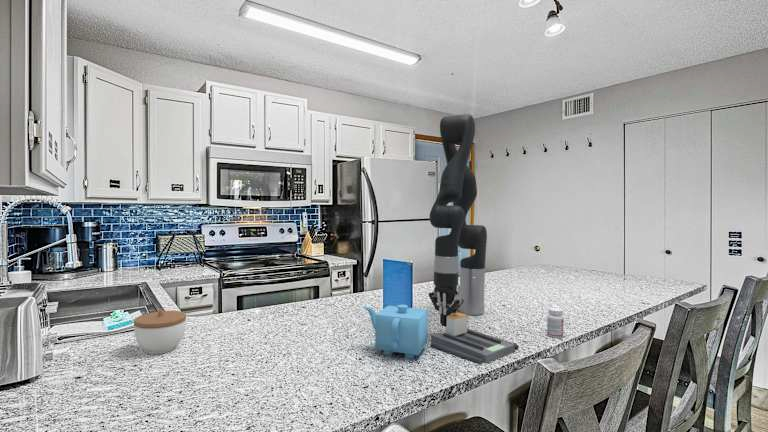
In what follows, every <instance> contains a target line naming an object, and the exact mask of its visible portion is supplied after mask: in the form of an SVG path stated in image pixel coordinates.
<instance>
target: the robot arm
mask: <svg viewBox="0 0 768 432" xmlns="http://www.w3.org/2000/svg"><path fill="white" fill-rule="evenodd" d="M439 122H440V123H439V133H440V138H441V139H440V140H441V144H442V147H443V153H444V156H445V161H446V166H445V167H444V169H443V171H442V174H441V177H440V183H439V184H440V185H439V189H438V194H437V196H436V198H435V201H434V203H433V205H432V207H431V210H430V212H429V223H430V224H431V226H432V227H433V228H435V229H436V228H437V229H451V230H450V232H449V234H445V235H440V236H437V237H436V238H435V241H434V260H433V285H434V289H433V291H430V292H429V293H428V296H429V299H430V301H431V303H432V305H433V308H434V309H435V310H436V311H438V312H439V314H440V315H439V317H440V318H439V322H440V326H441V327H444V328H445V327H446V324H447V316H449V315H453V314H457V311H459V313H463V314H466V315H469V316H478V315H479V316H480V315H484V313H485V287H486V286H485V285H486V282H485V280H486V259H487V258H486V256H487V255H486V254H487V253H486V252H487V242H488V241H487V240H488V233H487V232H488V231H487V228H486V226H484V225H482V224H481V225H479V224H467V222H466V221H467V220H466V219H467V215H468V212H470V209H471V207H472V206H473V204H474V203H475V201H476V198H477V195H478V188H477V180H476V175H475V174H474V172H473V170H472V169H471V168H470V167H469V165H468V161H469V159H470V155H471V151H472V147H473V144H474V139H475V135H476V122H475V118H474V117H473V116H472V114H466V113H465V114H457V115H449V116H448V115H447V116H444V117H442V118H441V119H440V121H439ZM457 144H460V145H459V148H458V149H457V147H456V145H457ZM449 203H452V205H448V204H449ZM459 248H460V249H465V250H475V251H474V254H472V255H470V256H468V257H464V258H461V259H460V260H459ZM459 261H460V262H459Z"/></svg>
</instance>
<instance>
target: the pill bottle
mask: <svg viewBox="0 0 768 432" xmlns="http://www.w3.org/2000/svg"><path fill="white" fill-rule="evenodd" d="M563 313H564V312H563V309H562V308H557V307H550V308H548V314H547V315H546V316H547V317H546V318H547V320H546V321H547V323H546V335H547V336H549V337H551V338H556V339H561V338H563V337H564V323H565V322H564V320H565V318H564V316H563Z"/></svg>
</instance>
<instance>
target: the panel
mask: <svg viewBox="0 0 768 432" xmlns="http://www.w3.org/2000/svg"><path fill="white" fill-rule="evenodd" d="M468 329H469V328H467V332H466V333H463V334H460V335H457V336H452V335H449V334H446V330H443V331H439V332H436V333H433V334H430V342H431V343H432V342H433V343H436V344H439V345H442V346H445V347H448V348H451V349H454V350H457V351H460V352H463V353H466V354H469V355H472V356H475V357H477V358H480V359H482V363H485V364H488V363H490V362H492V361H495V360H497V359H500V358H502V357H505V356H507V355H510V354H512V353H515V345H514V344H515V343H514V344H511V343H512V342H511V343H508V342H509V341H507V342H505V341H506V340H504V341H502V340H503V339H501V340H499V339H500V338H498V339H496V338H497V337H495V338H492V337H493V336H492V337H489V336H490V335H489V336H486V335H487V334H486V335H483V334H484V333H483V334H480V333H481V332H480V333H477V332H478V331H477V332H474V331H475V330H473V331H471V330H472V329H470V330H468Z"/></svg>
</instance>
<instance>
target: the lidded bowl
mask: <svg viewBox="0 0 768 432" xmlns="http://www.w3.org/2000/svg"><path fill="white" fill-rule="evenodd" d="M186 319H187V314H186V313H185V312H184V311H180V310H164V309H163V308H162V309H158V310H157V311H151V312H148V313H143V314H141V315H139V316H137V317H135V318H134V320H133V326H134V337H135V341H136V342H137V344H138V346H139V347H140V348H141V349H142V350H143V351H145V353H147V354H150V355H158V354H159V355H160V354H165V353H169V352H172V351H173V350H175V349H176V346H178V345H179V343H181V341H182V339H183V338H184V336H185V335H184V334H185V331H186Z"/></svg>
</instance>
